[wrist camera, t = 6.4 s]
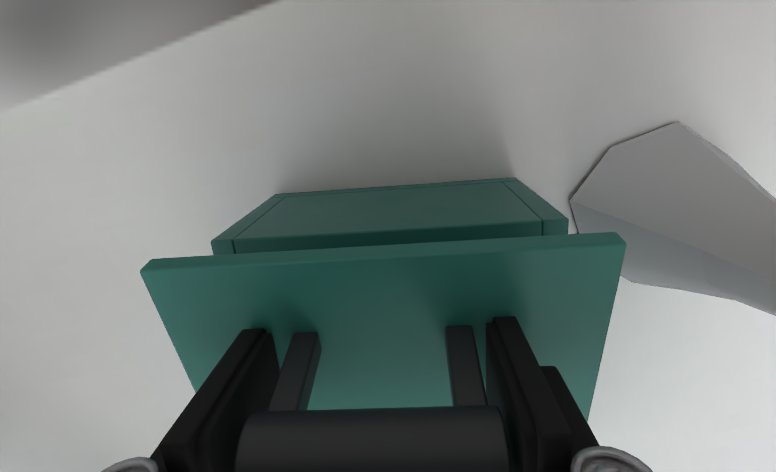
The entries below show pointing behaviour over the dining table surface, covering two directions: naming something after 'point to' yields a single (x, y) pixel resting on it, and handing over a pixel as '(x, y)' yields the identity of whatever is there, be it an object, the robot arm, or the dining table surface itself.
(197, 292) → the lunchbox lid
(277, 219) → the box
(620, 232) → the flask
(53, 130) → the dining table surface
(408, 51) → the dining table surface
